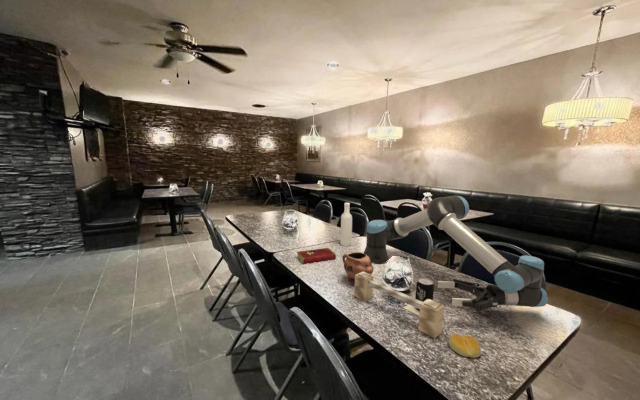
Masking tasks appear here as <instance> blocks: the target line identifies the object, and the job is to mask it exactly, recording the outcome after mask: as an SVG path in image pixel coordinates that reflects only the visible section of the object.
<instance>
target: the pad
mask: <svg viewBox="0 0 640 400" xmlns="http://www.w3.org/2000/svg"><path fill="white" fill-rule="evenodd" d="M403 309H404V310H405V311H408V312H410V313H411V314H414V315H416V316H418V317H419V314H420V311H419V310H417V308H416V307H414V306H412V305H409V304H407V305H406V306H404V307H403Z"/></svg>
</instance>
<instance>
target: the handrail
mask: <svg viewBox="0 0 640 400" xmlns="http://www.w3.org/2000/svg"><path fill="white" fill-rule="evenodd" d="M373 289H375V290H377V291H379V292H381V293H383V294H386V295H387V296H391V297H393V298H394V299H397V300H399V301H402V302H403V303H405V304H407V305H412V306H414V307H416V308H418V309H420V314H419V316H418V326H417V327H418V329H417V330H418V331H420V332H422V333H424V334H425V335H427V336H430V337H431V338H433V339H436V338H437V337H439V335H440V334H441V333H442V329H443V317H444V309H445V308H444V306H445V305H442V304H441V303H439V302H438V301H435V300H434V299H433V300H430V299H429V300H428V299H426V300H425V301H424V302H421V301H419V300H417V299H415V298H414V297H413V296H411V295H410V296H409V295H408V294H406V293H403V292H400V291H399V290H396V289H395V288H391V287H389V286H388V285H385V284H382V283H380V282H378V281H376V280H374V275H372V274H368V273H366V272H364V271H363V272H360V273H358V274H356V275H355V285H354V296H353V297H355V296H356V298H358V299H359V300H360V301H363V302H367V301H369V300H371V299H372V298H373V294H374V293H373V291H374V290H373Z"/></svg>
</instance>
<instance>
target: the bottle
mask: <svg viewBox="0 0 640 400" xmlns="http://www.w3.org/2000/svg"><path fill="white" fill-rule="evenodd" d="M350 205H351V203H350V202H344V205H343V206H344V211H343V212H344V213H342V214H341V216H340V245H341V246H344V247H351V246H352V242H353V241H352V239H353V238H352V236H353V235H352V233H353V215H352V214H351V213H350V208H351V207H350ZM350 245H351V246H350Z"/></svg>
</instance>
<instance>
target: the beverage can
mask: <svg viewBox="0 0 640 400" xmlns="http://www.w3.org/2000/svg"><path fill="white" fill-rule="evenodd" d="M415 285H416V287H415V299H417V300H419V301H421V302H424V301H425V300H426V299H428V300H429V299H430V300H433V301H434V294H435V293H434V292H435V291H434V290H435V285H434V281H433V280H431V278H427V277H419V278H418V279H417V281H416V284H415ZM417 310H419V311H420V309H418V308H417Z"/></svg>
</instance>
